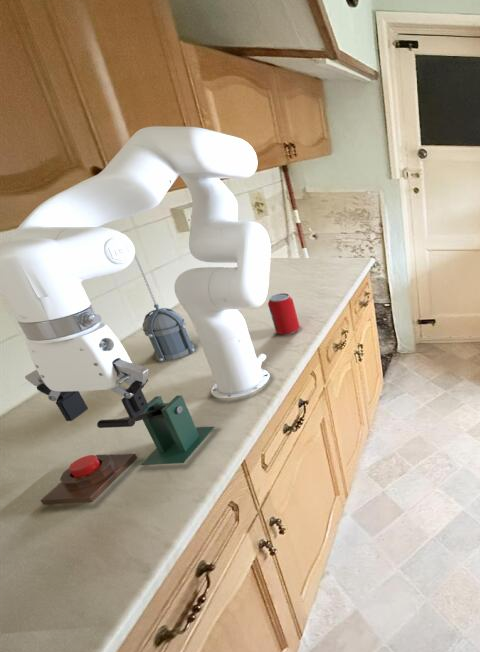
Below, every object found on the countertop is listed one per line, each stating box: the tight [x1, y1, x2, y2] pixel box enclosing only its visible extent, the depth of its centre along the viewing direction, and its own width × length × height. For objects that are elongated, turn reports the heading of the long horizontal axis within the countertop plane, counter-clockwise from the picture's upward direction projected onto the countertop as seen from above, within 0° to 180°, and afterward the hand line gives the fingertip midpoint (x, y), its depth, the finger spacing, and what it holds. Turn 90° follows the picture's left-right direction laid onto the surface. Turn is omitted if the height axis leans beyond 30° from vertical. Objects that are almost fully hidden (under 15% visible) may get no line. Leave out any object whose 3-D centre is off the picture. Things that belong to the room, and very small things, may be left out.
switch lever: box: [96, 402, 169, 429], centre depth 73 cm, size 12×5×2 cm, turn 4°
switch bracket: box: [140, 395, 216, 466], centre depth 79 cm, size 10×8×12 cm
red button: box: [68, 454, 101, 477], centre depth 72 cm, size 4×4×2 cm
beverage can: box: [267, 292, 300, 336], centre depth 124 cm, size 7×7×12 cm
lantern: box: [134, 253, 196, 363], centre depth 108 cm, size 11×11×30 cm
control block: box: [39, 453, 138, 506], centre depth 73 cm, size 10×8×4 cm
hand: (109, 414), depth 66 cm, fingers open, 9 cm apart
